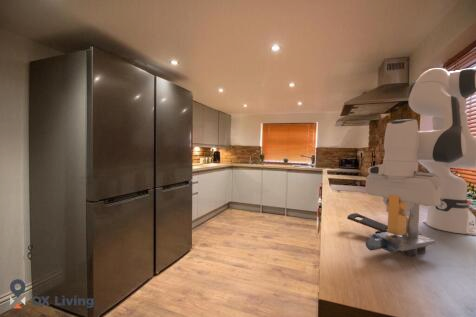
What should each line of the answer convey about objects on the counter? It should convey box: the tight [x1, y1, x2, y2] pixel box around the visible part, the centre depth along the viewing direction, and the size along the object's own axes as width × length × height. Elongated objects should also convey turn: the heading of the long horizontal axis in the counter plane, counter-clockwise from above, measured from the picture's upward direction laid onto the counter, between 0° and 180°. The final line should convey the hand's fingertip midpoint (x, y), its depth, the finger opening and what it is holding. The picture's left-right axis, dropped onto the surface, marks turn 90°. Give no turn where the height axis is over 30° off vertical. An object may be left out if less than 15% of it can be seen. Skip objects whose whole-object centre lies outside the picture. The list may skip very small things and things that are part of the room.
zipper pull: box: [346, 212, 427, 254], centre depth 83 cm, size 9×7×25 cm
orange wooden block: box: [386, 195, 407, 236], centre depth 68 cm, size 4×3×12 cm
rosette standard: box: [364, 203, 437, 258], centre depth 68 cm, size 23×10×18 cm, turn 112°
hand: (397, 213), depth 68 cm, fingers closed on orange wooden block, 3 cm apart
